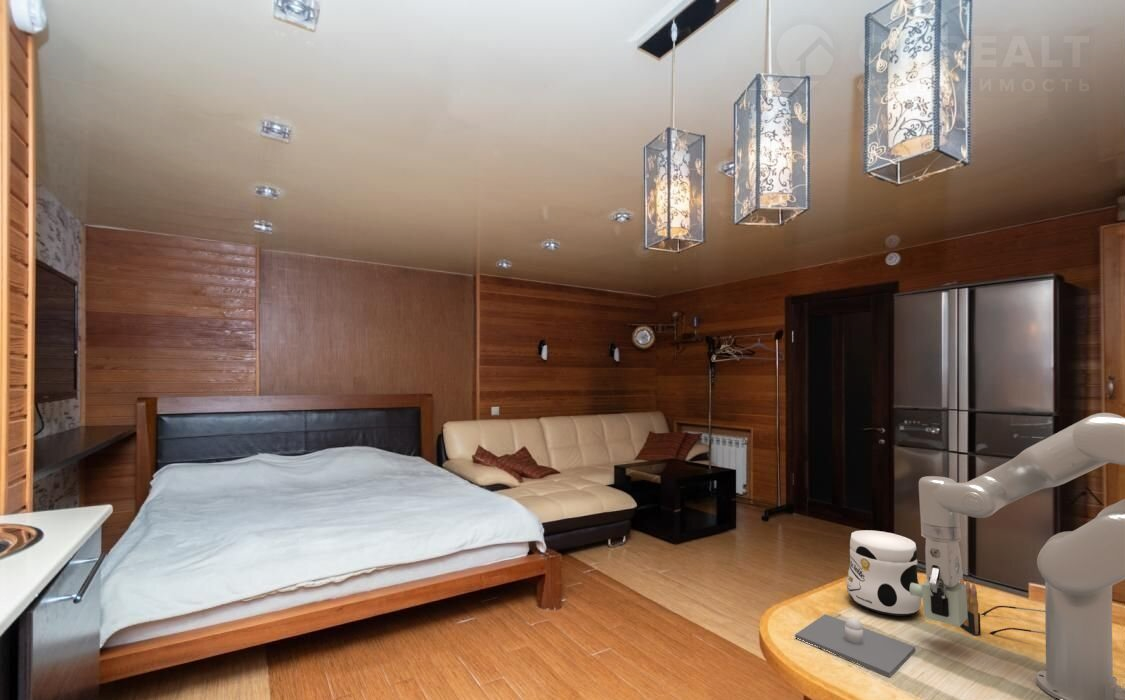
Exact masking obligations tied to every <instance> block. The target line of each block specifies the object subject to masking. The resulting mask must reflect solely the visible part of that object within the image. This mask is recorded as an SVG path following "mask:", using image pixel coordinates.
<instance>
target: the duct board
mask: <svg viewBox="0 0 1125 700" xmlns="http://www.w3.org/2000/svg"><path fill="white" fill-rule="evenodd" d="M795 637H796V638H799V639H801V640H804V641H805V642H808V643H810V644H813V645H816V646H818V647H820V648H823V649H825V650H828V651H830V652H832V653H834V654H836V655H839V656H841V657H843V658H846V659H848V660H850V661H849V662H851V661H853V662H855V663H858V664H860V665H862V666H861V667H863V666H864V667H863V668H865V667H866V669H868V670H871V671H873V672H875V673H877V674H880V675H882V676H885V677H887V678H891V677H892V676H893V675H894V673H896V672H897V670H899V669H900V667H902V666H903V664H904V663H905V662H907V660H908V659H909V658H911V656H913V654H914V653H915V652H916V645H915V646H914V645H912V644H910V643H907V642H904V641H900V640H898V639H895V638H892V637H890V636H887V635H884V634H882V633H879V632H876V631H873V630H870V629H868V628H864V627H863V624H862V622H861V621H860V619H857V618H856V617H849V618H846V620H843V619H840V618H837V617H835V616H832V615H829V614H826V613H825V614H823V615H821V616H819V618H817V619H816V620H814V621H813V622H811V623H809V624H808V625H807V626H805V627H804V628H802V629H801V630H799V631H798V632H796V633H794V638H795ZM805 642H804V643H805ZM810 644H809V645H810ZM834 654H833V655H834ZM836 655H835V656H836ZM839 656H838V657H839ZM841 657H840V658H841ZM843 658H842V659H843ZM846 659H845V660H846ZM848 660H847V661H848ZM853 662H852V663H853ZM855 663H854V664H855ZM858 664H857V665H858ZM860 665H859V666H860Z"/></svg>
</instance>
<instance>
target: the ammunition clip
mask: <svg viewBox="0 0 1125 700" xmlns="http://www.w3.org/2000/svg"><path fill="white" fill-rule="evenodd" d="M958 583H960V584H965V585H966V597H967V613H968V618H967V619H966V620H965V621H964V623H963V624H962V625H961V626H960V627H959V628H960V629H962V630H964V631H966V632H968V633H969V634H970V635H972V636H981V635H982V631H981V630H982V629H981V613H979V602H978V592H977V590H978V589H977V586H976V585H975V583H972V585H971V583H970V581H969V580H967V581H966V582H965V580H964V578H963V577H962V579H961V580H960V581H959V582H958Z"/></svg>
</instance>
